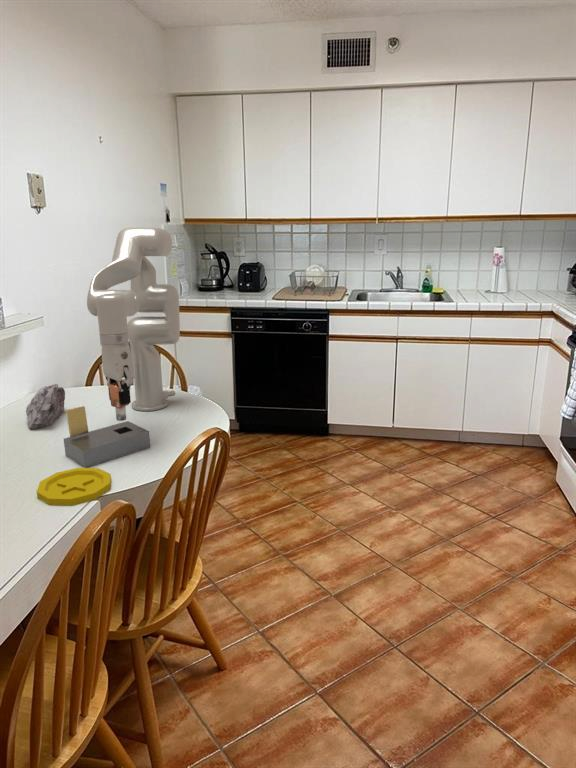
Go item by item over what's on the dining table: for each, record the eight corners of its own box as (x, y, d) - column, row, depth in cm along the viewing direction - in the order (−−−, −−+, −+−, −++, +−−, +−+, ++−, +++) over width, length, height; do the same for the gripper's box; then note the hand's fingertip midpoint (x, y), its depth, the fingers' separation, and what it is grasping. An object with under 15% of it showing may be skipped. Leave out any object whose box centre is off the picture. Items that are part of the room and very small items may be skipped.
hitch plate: (129, 436, 174) (128, 421, 172) (150, 447, 165) (149, 431, 164) (65, 455, 160) (63, 438, 159) (84, 468, 152) (82, 450, 151)
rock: (44, 439, 179) (58, 396, 175) (12, 428, 177) (26, 384, 174) (64, 416, 200) (78, 378, 197) (36, 406, 198) (49, 367, 195)
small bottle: (125, 415, 167) (121, 380, 164) (133, 419, 163) (130, 384, 160) (109, 419, 163) (105, 384, 160) (117, 423, 160) (114, 387, 157)
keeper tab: (71, 437, 158) (70, 437, 159) (88, 433, 162) (87, 432, 162) (67, 410, 156) (65, 410, 157) (84, 406, 160) (83, 406, 161)
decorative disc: (86, 468, 152) (85, 462, 152) (125, 487, 142) (124, 480, 141) (25, 491, 140) (24, 484, 139) (63, 514, 129) (62, 506, 129)
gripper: (142, 341, 154) (147, 405, 159) (111, 333, 165) (117, 392, 170) (117, 345, 149) (123, 411, 154) (87, 336, 160) (93, 398, 165)
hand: (120, 401), depth 162 cm, fingers closed on small bottle, 5 cm apart
